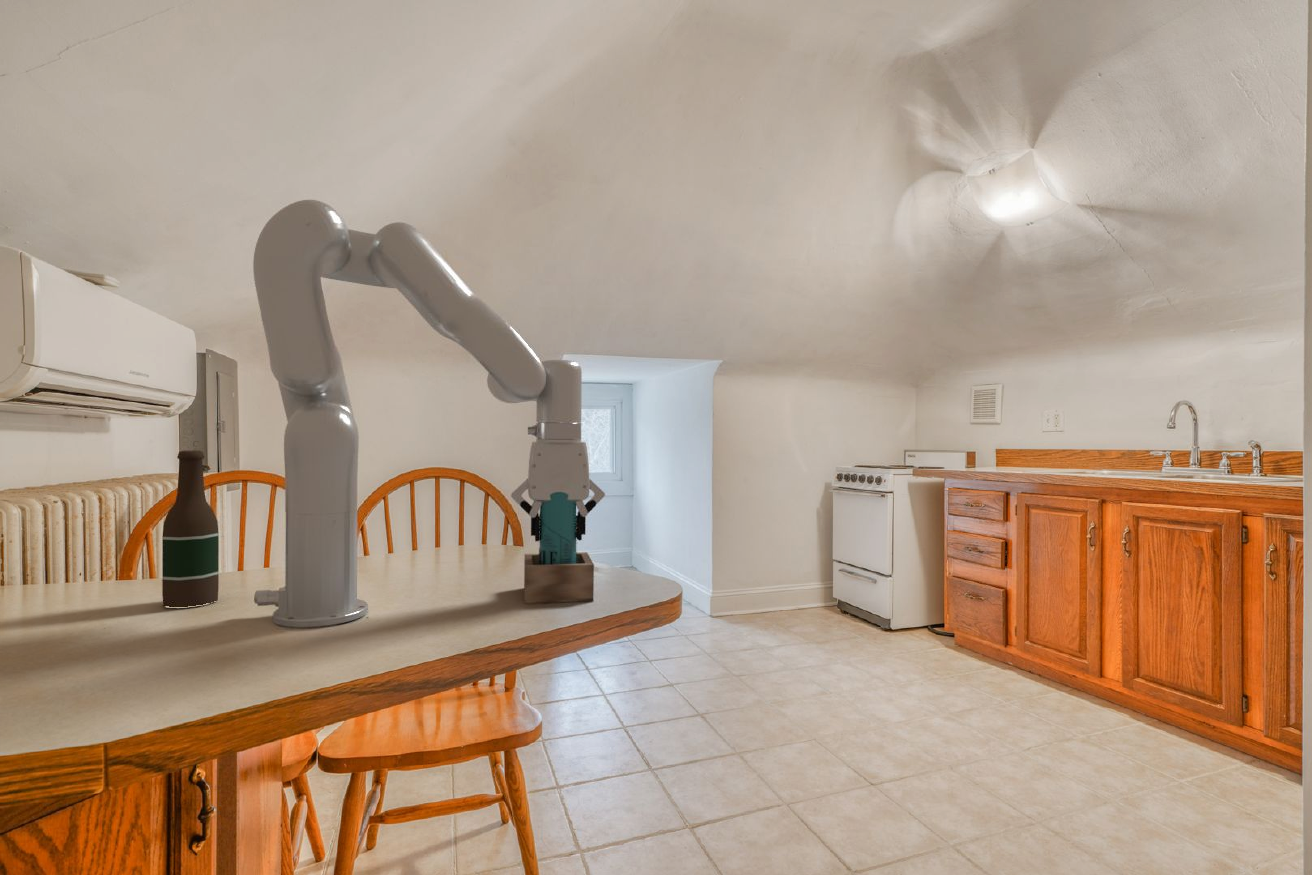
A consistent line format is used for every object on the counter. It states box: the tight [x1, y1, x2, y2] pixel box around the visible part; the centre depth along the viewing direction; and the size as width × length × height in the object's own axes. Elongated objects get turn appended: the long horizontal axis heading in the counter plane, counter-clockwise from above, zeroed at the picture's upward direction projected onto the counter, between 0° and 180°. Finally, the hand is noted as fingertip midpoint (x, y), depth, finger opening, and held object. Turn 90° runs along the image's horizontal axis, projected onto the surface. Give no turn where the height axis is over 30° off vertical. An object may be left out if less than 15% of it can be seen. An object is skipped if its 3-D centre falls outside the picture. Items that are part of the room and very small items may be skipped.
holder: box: [523, 551, 595, 605], centre depth 115 cm, size 11×11×6 cm
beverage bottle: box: [538, 492, 578, 565], centre depth 115 cm, size 6×7×20 cm
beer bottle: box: [161, 449, 220, 607], centre depth 106 cm, size 8×8×24 cm
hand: (558, 538), depth 115 cm, fingers closed on beverage bottle, 6 cm apart
